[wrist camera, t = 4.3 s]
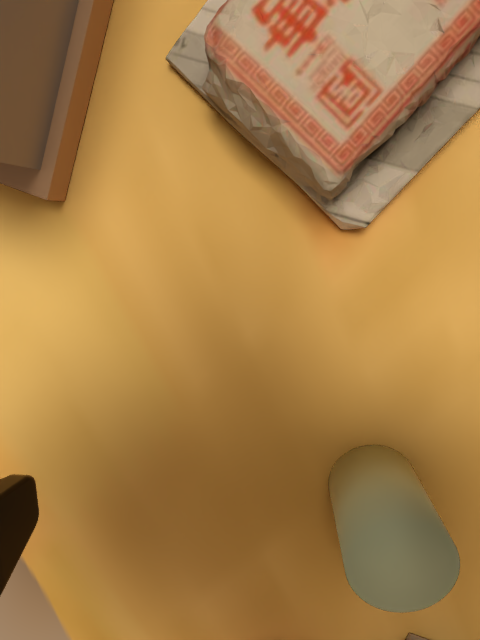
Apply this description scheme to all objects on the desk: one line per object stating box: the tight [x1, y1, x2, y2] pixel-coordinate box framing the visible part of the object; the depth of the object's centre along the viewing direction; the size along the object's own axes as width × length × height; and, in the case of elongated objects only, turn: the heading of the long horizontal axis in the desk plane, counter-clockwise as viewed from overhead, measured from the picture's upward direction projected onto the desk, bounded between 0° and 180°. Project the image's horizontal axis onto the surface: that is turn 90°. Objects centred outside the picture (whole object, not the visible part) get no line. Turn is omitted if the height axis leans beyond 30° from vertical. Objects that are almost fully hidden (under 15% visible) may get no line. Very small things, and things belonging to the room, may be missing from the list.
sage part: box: [328, 445, 460, 613], centre depth 18 cm, size 4×4×5 cm
